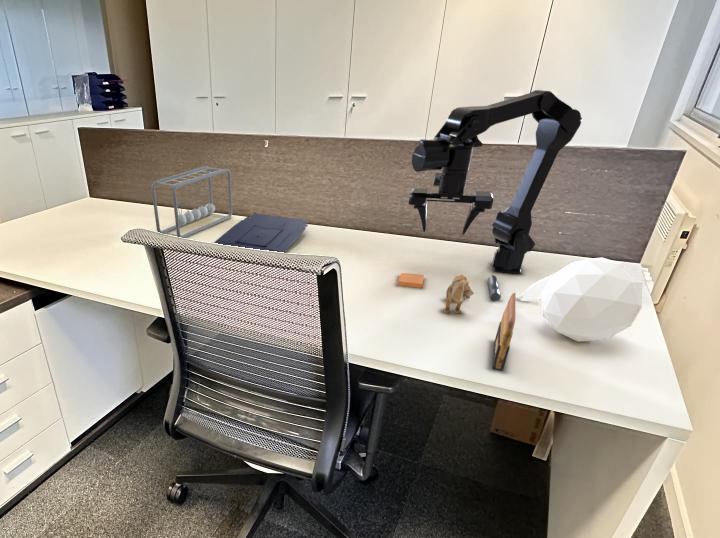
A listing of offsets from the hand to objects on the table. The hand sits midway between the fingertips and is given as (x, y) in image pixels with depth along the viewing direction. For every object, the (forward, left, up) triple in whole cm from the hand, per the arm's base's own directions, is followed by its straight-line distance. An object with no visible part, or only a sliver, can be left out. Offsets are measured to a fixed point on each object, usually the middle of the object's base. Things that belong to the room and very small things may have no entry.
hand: (443, 232), depth 123 cm
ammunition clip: (-13, +36, -13) cm, 41 cm away
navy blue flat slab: (+54, -16, -13) cm, 57 cm away
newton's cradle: (+82, -26, -13) cm, 87 cm away
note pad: (+6, +4, -12) cm, 14 cm away
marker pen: (-13, +4, -11) cm, 18 cm away
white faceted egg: (-28, +17, -13) cm, 36 cm away
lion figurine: (-5, +16, -13) cm, 21 cm away
